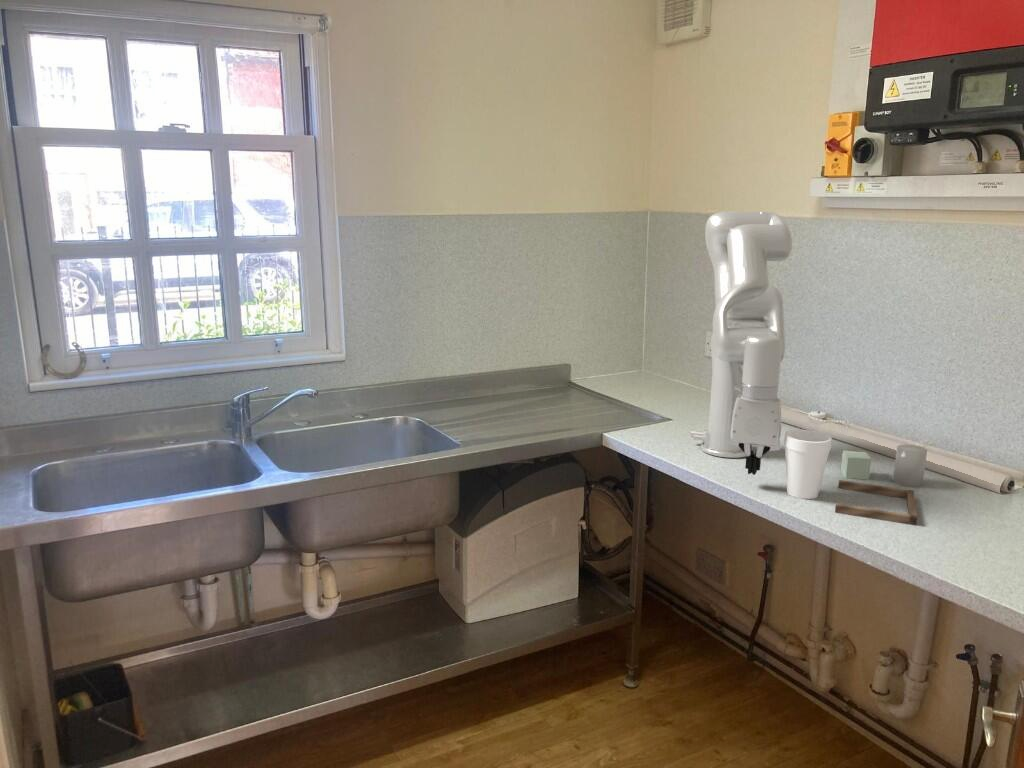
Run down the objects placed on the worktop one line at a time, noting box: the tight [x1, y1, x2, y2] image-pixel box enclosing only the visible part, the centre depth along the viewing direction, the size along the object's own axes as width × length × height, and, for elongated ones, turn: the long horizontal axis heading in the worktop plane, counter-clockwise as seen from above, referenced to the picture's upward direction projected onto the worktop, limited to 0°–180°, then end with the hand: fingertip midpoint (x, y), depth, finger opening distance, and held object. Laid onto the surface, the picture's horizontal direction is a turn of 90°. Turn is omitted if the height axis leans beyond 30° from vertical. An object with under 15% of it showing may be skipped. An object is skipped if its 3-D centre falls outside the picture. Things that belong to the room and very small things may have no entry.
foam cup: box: [783, 429, 833, 500], centre depth 167 cm, size 10×9×13 cm
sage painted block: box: [840, 450, 872, 480], centre depth 180 cm, size 5×5×5 cm
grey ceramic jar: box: [892, 444, 928, 488], centre depth 175 cm, size 6×6×8 cm
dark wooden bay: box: [834, 479, 918, 526], centre depth 163 cm, size 15×16×2 cm
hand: (752, 472), depth 172 cm, fingers closed
